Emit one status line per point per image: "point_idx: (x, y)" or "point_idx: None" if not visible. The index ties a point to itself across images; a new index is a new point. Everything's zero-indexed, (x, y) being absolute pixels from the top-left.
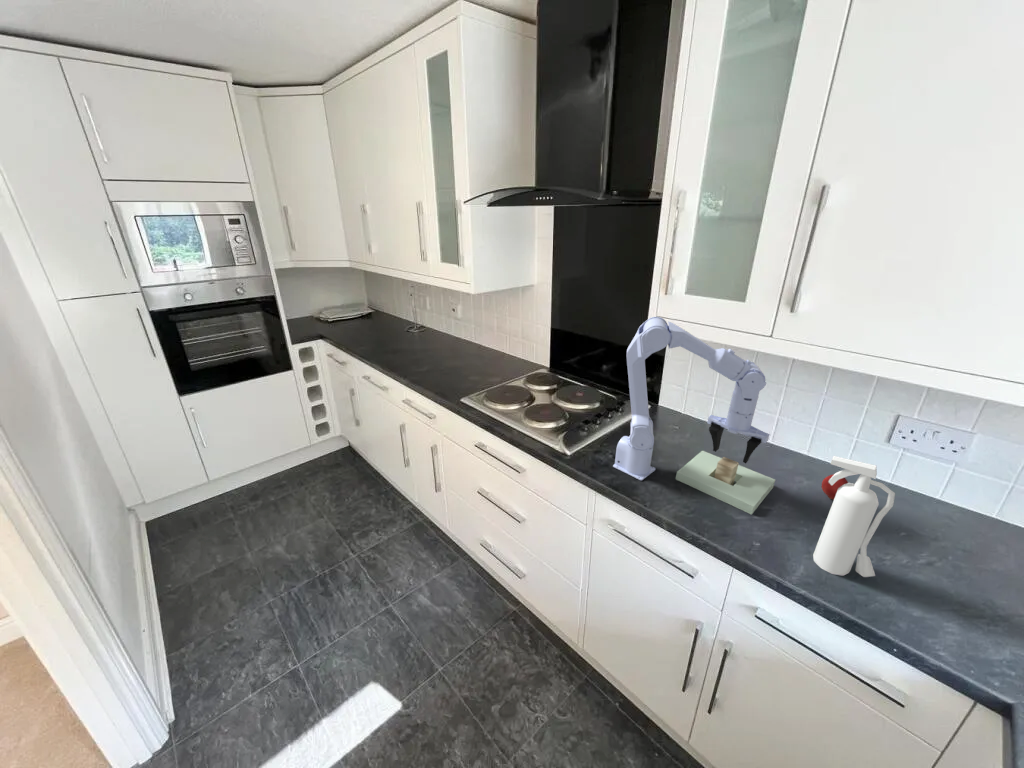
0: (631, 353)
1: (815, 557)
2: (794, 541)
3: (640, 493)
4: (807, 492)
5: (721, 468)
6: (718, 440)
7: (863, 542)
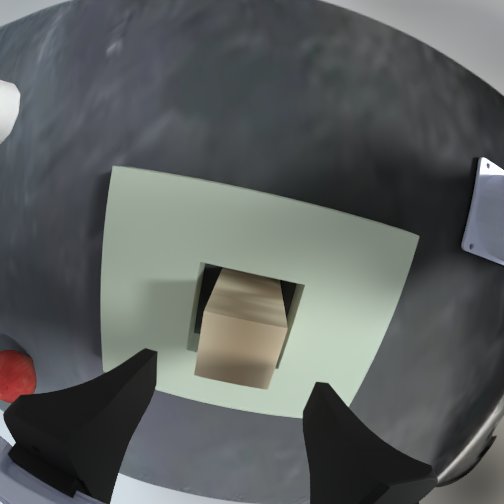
0: None
1: (13, 92)
2: (40, 128)
3: (459, 93)
4: (60, 365)
5: (261, 311)
6: (323, 445)
7: None
